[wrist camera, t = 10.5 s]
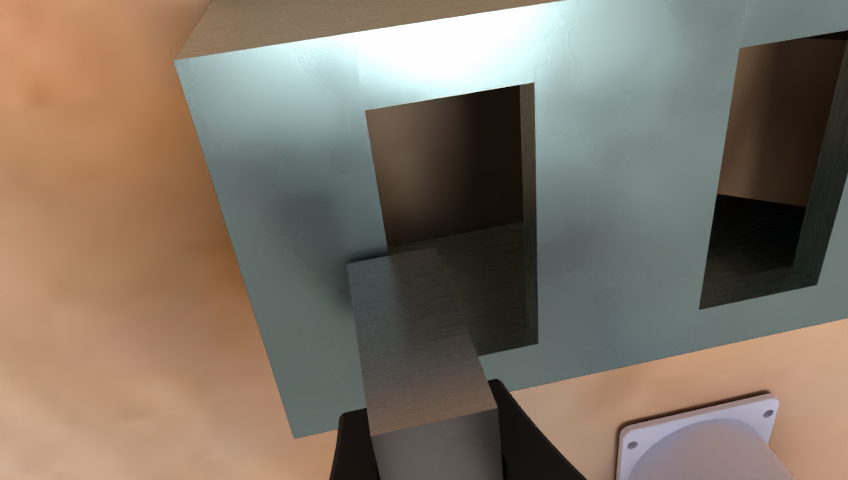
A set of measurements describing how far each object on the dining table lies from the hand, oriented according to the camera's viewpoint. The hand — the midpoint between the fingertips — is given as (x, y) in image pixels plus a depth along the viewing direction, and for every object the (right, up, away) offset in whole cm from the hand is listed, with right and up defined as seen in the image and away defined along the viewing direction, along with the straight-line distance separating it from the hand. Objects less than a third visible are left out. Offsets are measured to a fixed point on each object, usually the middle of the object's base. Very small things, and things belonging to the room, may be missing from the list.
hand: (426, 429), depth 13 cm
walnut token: (+8, +8, +8) cm, 14 cm away
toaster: (+4, +8, +8) cm, 12 cm away
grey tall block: (-1, +2, +2) cm, 3 cm away
